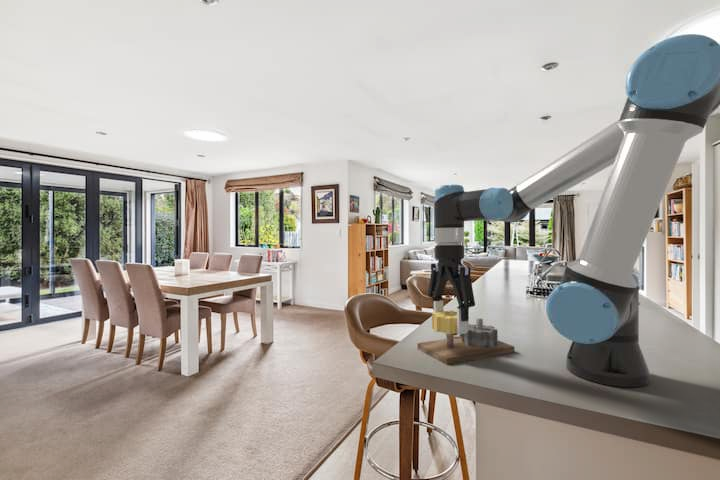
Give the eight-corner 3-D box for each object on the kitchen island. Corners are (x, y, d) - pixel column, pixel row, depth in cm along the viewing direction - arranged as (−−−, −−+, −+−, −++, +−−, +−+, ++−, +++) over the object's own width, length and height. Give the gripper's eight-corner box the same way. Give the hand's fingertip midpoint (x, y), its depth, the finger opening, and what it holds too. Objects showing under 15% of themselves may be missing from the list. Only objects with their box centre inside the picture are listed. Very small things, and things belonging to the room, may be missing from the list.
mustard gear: (446, 336, 86) (446, 320, 86) (425, 327, 95) (425, 312, 94) (476, 331, 90) (475, 316, 90) (453, 323, 98) (453, 309, 98)
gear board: (514, 351, 92) (514, 322, 92) (446, 364, 84) (446, 331, 84) (479, 338, 104) (479, 312, 104) (417, 348, 96) (417, 319, 96)
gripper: (490, 244, 83) (491, 337, 83) (436, 243, 103) (437, 318, 104) (465, 245, 80) (466, 341, 80) (415, 243, 100) (415, 320, 101)
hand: (449, 328), depth 92 cm, fingers closed on mustard gear, 9 cm apart
